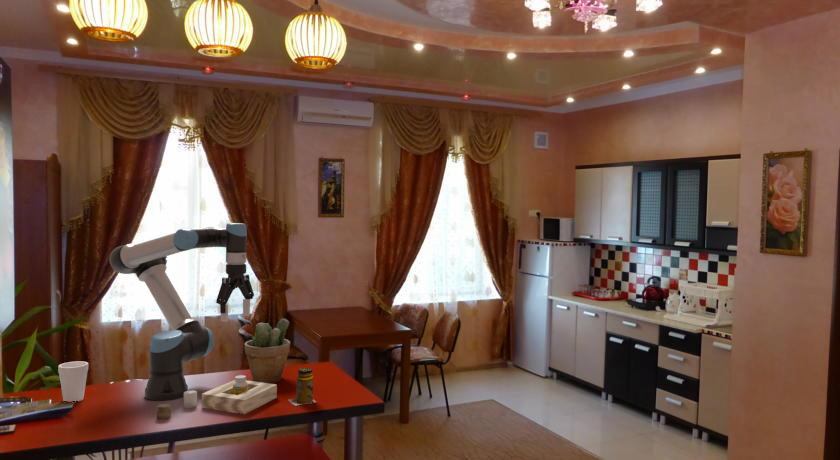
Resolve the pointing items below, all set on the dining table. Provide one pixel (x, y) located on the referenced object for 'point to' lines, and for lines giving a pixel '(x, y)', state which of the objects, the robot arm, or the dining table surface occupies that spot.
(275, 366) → the potted plant
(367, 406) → the dining table surface
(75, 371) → the foam cup
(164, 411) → the walnut dowel short
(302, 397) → the condiment
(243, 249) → the robot arm
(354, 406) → the dining table surface
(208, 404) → the board
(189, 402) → the pale grey block
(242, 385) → the supplement bottle
